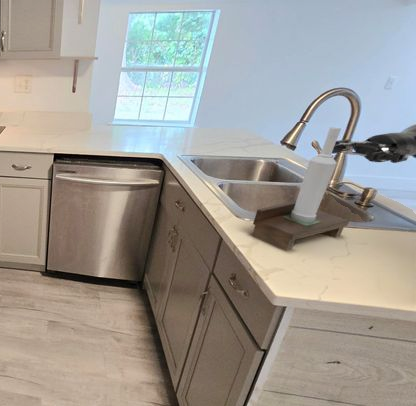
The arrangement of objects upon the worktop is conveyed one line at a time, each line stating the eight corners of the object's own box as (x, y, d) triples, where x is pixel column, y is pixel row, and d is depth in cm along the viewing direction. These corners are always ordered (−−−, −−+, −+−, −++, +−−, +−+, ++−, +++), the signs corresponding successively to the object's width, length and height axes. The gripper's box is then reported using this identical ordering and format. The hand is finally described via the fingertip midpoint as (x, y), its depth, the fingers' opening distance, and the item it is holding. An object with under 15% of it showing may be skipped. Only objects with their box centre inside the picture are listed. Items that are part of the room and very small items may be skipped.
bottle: (319, 222, 97) (356, 129, 88) (301, 223, 97) (336, 130, 87) (302, 214, 102) (334, 125, 92) (284, 215, 102) (315, 126, 92)
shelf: (342, 236, 100) (353, 210, 97) (287, 252, 94) (297, 224, 91) (302, 222, 109) (311, 197, 106) (249, 234, 103) (257, 209, 100)
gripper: (361, 128, 105) (324, 133, 101) (431, 139, 93) (393, 145, 88) (351, 153, 108) (315, 160, 104) (418, 167, 96) (380, 174, 91)
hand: (351, 153), depth 96 cm, fingers open, 8 cm apart
